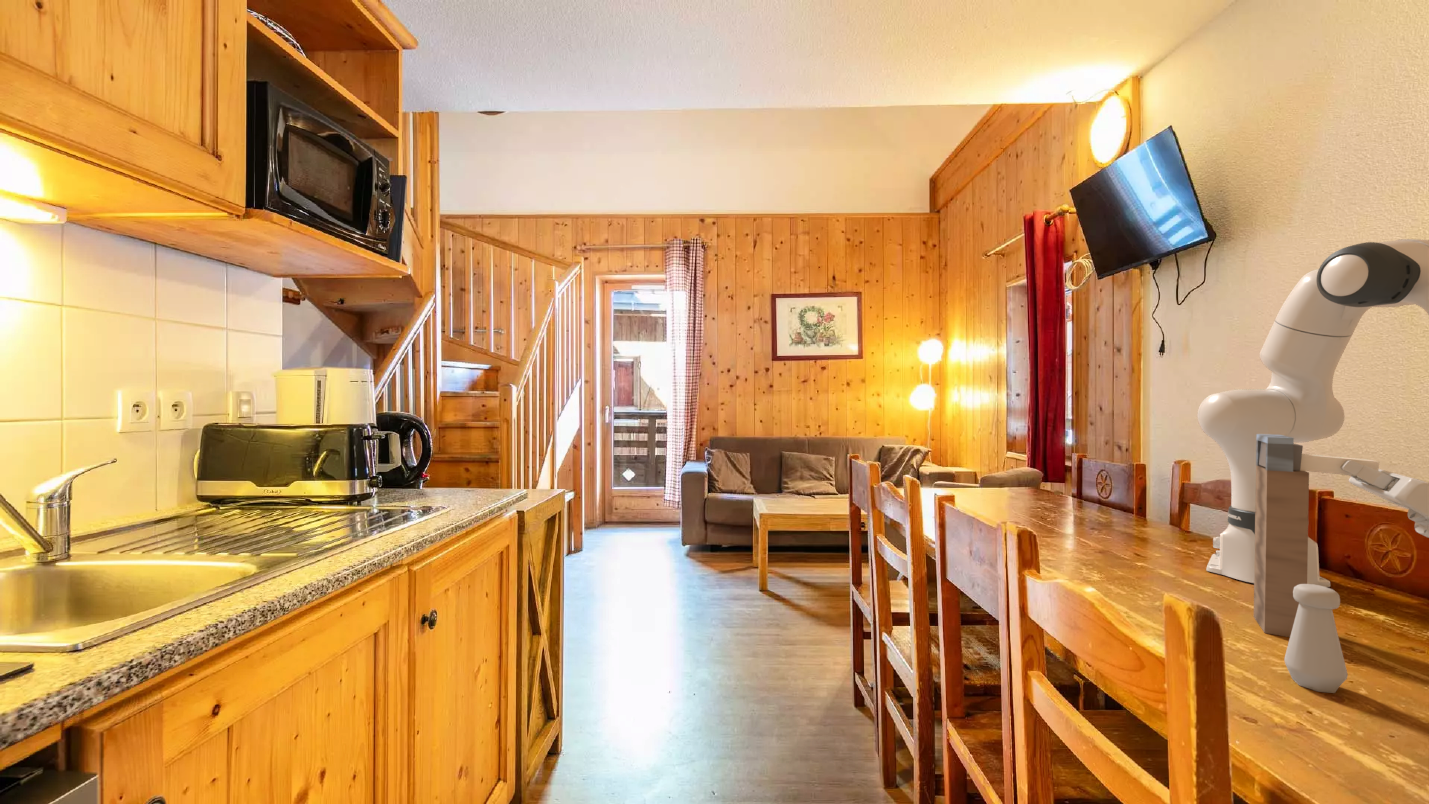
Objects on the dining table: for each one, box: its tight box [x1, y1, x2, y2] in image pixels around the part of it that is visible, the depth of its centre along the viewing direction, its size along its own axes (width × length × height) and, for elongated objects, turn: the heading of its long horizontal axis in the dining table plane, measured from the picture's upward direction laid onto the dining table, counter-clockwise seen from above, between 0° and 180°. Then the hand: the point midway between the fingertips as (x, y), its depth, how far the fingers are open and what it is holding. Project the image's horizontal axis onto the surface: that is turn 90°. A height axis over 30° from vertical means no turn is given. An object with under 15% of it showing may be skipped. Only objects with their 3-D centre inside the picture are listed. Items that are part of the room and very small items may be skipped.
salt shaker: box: [1283, 584, 1348, 694], centre depth 77 cm, size 6×6×13 cm
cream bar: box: [1259, 442, 1380, 477], centre depth 94 cm, size 5×13×4 cm, turn 57°
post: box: [1253, 434, 1310, 638], centre depth 96 cm, size 8×5×31 cm, turn 147°
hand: (1339, 462), depth 92 cm, fingers closed on cream bar, 3 cm apart
